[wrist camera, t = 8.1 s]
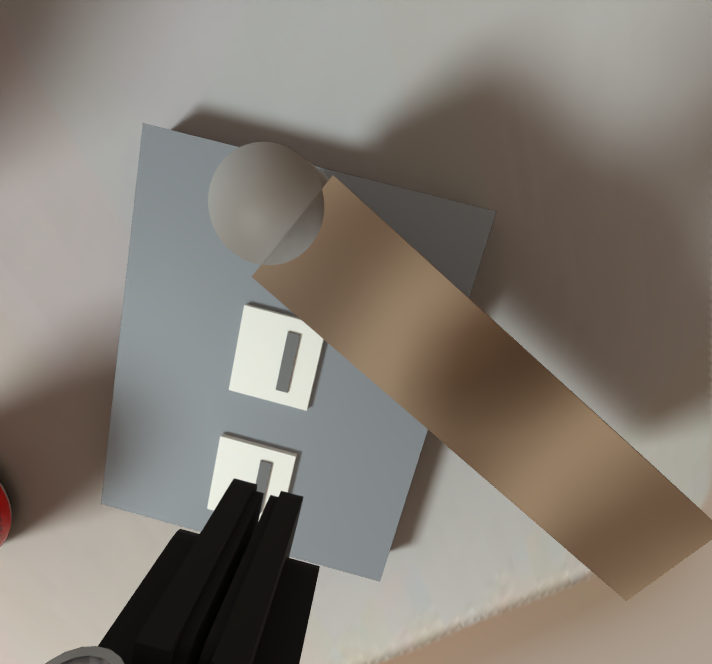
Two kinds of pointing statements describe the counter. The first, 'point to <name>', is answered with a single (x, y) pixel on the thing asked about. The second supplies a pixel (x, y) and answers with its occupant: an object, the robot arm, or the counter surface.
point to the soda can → (4, 515)
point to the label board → (258, 370)
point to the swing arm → (451, 366)
